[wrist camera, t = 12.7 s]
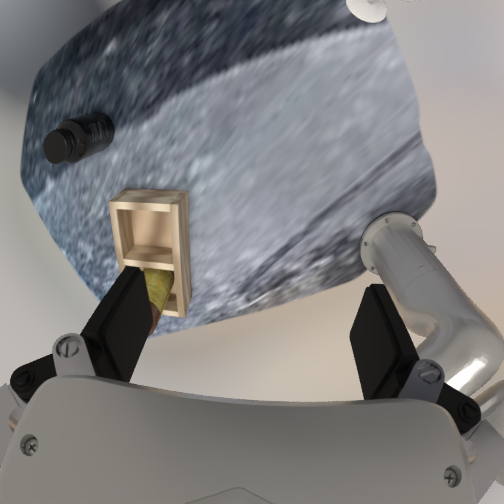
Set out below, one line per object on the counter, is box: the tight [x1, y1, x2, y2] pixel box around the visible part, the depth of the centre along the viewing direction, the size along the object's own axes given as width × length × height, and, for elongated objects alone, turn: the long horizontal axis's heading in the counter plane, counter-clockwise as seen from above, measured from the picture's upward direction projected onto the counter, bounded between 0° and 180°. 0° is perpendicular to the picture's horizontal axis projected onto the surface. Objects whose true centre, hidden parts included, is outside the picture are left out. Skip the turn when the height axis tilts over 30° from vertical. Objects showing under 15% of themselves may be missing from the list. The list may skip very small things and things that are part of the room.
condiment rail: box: [109, 189, 192, 318], centre depth 48 cm, size 11×22×6 cm, turn 176°
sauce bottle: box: [143, 268, 175, 336], centre depth 43 cm, size 6×6×20 cm
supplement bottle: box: [43, 113, 113, 164], centre depth 34 cm, size 7×7×12 cm
